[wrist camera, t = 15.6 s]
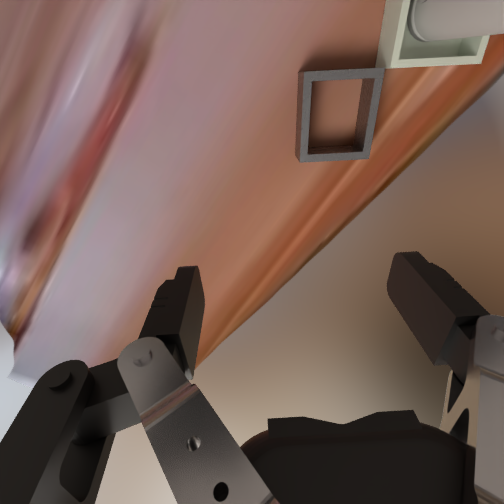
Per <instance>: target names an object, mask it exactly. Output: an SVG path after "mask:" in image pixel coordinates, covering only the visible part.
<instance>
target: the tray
mask: <svg viewBox="0 0 504 504" xmlns="http://www.w3.org/2000/svg"><path fill="white" fill-rule="evenodd" d="M410 1H411V0H386V3H385V10H384V16H383V22H382V28H381V34H380V40H379V47H378V53H377V59H376V65H375V68H406V67H425V66H444V65H463V64H481V61H482V58H483V55H484V52H485V49H486V46H487V43H488V40H489V37H490V35H486V36H477V37H468V38H459V39H450V40H441V41H432V42H421V41H418V40H416V39H415V38H414V37H413V36H412V35H411V34H410V32H409V29H408V25H407V15H408V10H409V5H410Z"/></svg>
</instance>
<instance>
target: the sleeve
mask: <svg viewBox="0 0 504 504" xmlns="http://www.w3.org/2000/svg"><path fill="white" fill-rule="evenodd" d="M384 71H385V68H361V69H342V70H323V71H304V72H298V96H297V122H296V148H295V156H296V157H297V159H298V161H299V162H319V161H339V160H358V159H369V155H370V150H371V144H372V139H373V133H374V127H375V122H376V116H377V110H378V105H379V99H380V94H381V88H382V82H383V77H384ZM345 79H363V81H362V88H361V95H360V102H359V109H358V116H357V122H356V129H355V136H354V143H353V145H351V146H332V147H313V148H308V137H309V121H310V105H311V88H312V81H325V80H345Z"/></svg>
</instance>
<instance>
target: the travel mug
mask: <svg viewBox="0 0 504 504" xmlns="http://www.w3.org/2000/svg"><path fill="white" fill-rule="evenodd" d="M407 25H408V29H409V32H410V34H411V35H412V36H413V37H414V38H415V39H416V40H418V41H421V42H432V41H441V40H450V39H459V38H468V37H477V36H486V35H495V34H504V0H411V1H410V5H409V10H408V15H407Z"/></svg>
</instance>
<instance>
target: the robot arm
mask: <svg viewBox="0 0 504 504" xmlns="http://www.w3.org/2000/svg"><path fill="white" fill-rule="evenodd" d="M387 291H388V295H389V297H390V299H391V300H392V302H393V304H394V305H395V307H396V308H397V310H398V311H399V313H400V314H401V316H402V317H403V319H404V320H405V322H406V323H407V325H408V326H409V328H410V330H411V331H412V332H413V334H414V336H415V337H416V339H417V340H418V342H419V343H420V345H421V346H422V348H423V349H424V351H425V352H426V354H427V355H428V357H429V359H430V360H431V362H432V363H433V365H449V366H450V367H451V369H452V370H451V372H450V374H449V378H448V384H447V391H446V398H445V404H444V411H443V417H442V422H441V425H440V428H439V429H438V428H436V427H433V426H430V425H427V424H424V423H420V422H419V420H418V418H417V416H416V414H415V413H414V411H413V410H404V411H387V412H376V413H374V414H371V415H368V416H365V417H363V418H360V419H357V420H355V421H352V422H350V423H347V424H336V423H332V422H327V421H322V420H317V419H312V418H307V417H288V418H272V419H268V430H266V431H264V432H261V433H259V434H257V435H256V436H253V437H252V438H251V439H249V440H248V441H246V442H245V443H244V444H243V445H242V446H241V447H239V446H238V444H237V443H236V441H235V440H234V438H233V437H232V435H231V434H230V433H229V431H228V430H227V428H226V427H225V426H224V424H223V423H222V421H221V420H220V418H219V417H218V415H217V414H216V412H215V411H214V409H213V408H212V407H211V405H210V404H209V402H208V401H207V399H206V398H205V396H204V395H203V394H202V392H201V391H200V389H199V388H198V387H197V386H196V385H195V384H191V383H190V382H189V380H192V379H193V375H194V369H195V363H196V357H197V351H198V345H199V339H200V333H201V327H202V320H203V314H204V308H205V299H204V292H203V287H202V282H201V277H200V272H199V268H198V266H184V267H178V270H177V273H176V275H175V278H174V279H173V280H166V281H165V282H164V283H163V284H162V285H161V286H160V287H159V288H158V290H157V292H156V295H155V297H154V300H153V302H152V305H151V308H150V310H149V312H148V315H147V318H146V320H145V323H144V325H143V328H142V330H141V333H140V335H139V338H138V339H137V340H135V341H133V342H132V343H130V344H129V345H128V346H126V347H125V348H124V349H123V351H122V352H121V354H120V355H119V358H117V359H115V360H112V361H109V362H106V363H103V364H100V365H97V366H94V367H91V368H88V367H87V365H86V364H85V363H84V362H83V361H80V360H70V361H66V362H63V363H60V364H58V365H56V366H54V367H53V368H51V369H50V370H48V371H47V372H46V373H45V374H44V375H43V376H42V377H41V378H40V379H39V380H38V382H37V383H36V385H35V386H34V388H33V390H32V391H31V393H30V395H29V396H28V398H27V400H26V401H25V403H24V404H23V406H22V408H21V410H20V411H19V413H18V414H17V416H16V418H15V419H14V421H13V423H12V424H11V426H10V428H9V429H8V431H7V433H6V434H5V436H4V438H3V439H2V441H1V442H0V504H95V501H96V498H97V494H98V491H99V488H100V484H101V481H102V478H103V474H104V471H105V468H106V464H107V461H108V458H109V454H110V451H111V447H112V444H113V441H114V437H115V434H116V432H118V431H121V430H123V429H126V428H128V427H131V426H133V425H136V424H138V423H141V422H142V425H143V427H144V429H145V431H146V434H147V436H148V438H149V440H150V443H151V445H152V447H153V449H154V452H155V454H156V456H157V458H158V461H159V463H160V465H161V467H162V470H163V472H164V474H165V476H166V479H167V481H168V483H169V485H170V488H171V490H172V492H173V494H174V496H175V499H176V501H177V503H178V504H504V317H502V316H497V315H490V314H489V313H488V312H487V311H486V310H485V309H484V308H483V307H482V306H481V305H480V304H479V303H478V302H477V301H476V300H475V299H474V298H473V297H472V296H471V295H470V294H469V293H468V292H467V291H466V290H465V289H462V286H461V285H460V284H459V283H458V282H457V281H454V278H452V277H451V275H450V274H448V273H447V272H446V271H445V270H444V269H442V268H440V267H439V266H437V265H435V264H433V263H429V262H428V261H427V260H426V259H425V258H424V257H423V256H422V255H421V254H420V253H419V252H417V251H416V252H400V253H396V254H395V255H394V258H393V261H392V265H391V269H390V273H389V277H388V281H387Z"/></svg>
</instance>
